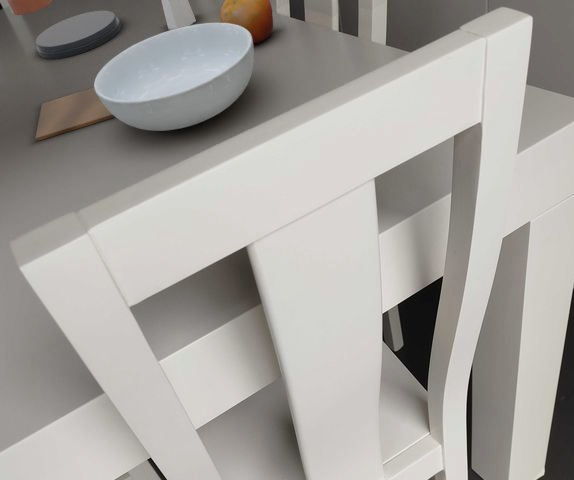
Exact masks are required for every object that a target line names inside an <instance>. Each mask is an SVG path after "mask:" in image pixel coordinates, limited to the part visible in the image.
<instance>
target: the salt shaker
mask: <svg viewBox="0 0 574 480" xmlns="http://www.w3.org/2000/svg"><path fill="white" fill-rule="evenodd" d="M161 5H162V9H163V13H164V16H165V17H164V18H165V21H166V25H167V30H168V31H170V30H174V29H178V28H181V27H186V26H191V25H194V24H195V23H196V21H197V19H196V18H195V15H194V12H193V10H192V7H191V5H190V2H189V0H161Z"/></svg>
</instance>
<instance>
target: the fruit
mask: <svg viewBox="0 0 574 480" xmlns="http://www.w3.org/2000/svg"><path fill="white" fill-rule="evenodd" d="M219 14H220V15H219V16H220V23H230V24H235V25H239V26H241V27H243V28H245V29H246V30H248V31H249V32H250V34H251V36H252V39H253V44H260V43H261V42H263V41H265V40H266V39H267V38H269V36H271V34H272V33H273V32H274V17H273V7H272V4H271V1H270V0H224V2H223V4H222V6H221V9H220V11H219Z"/></svg>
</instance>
